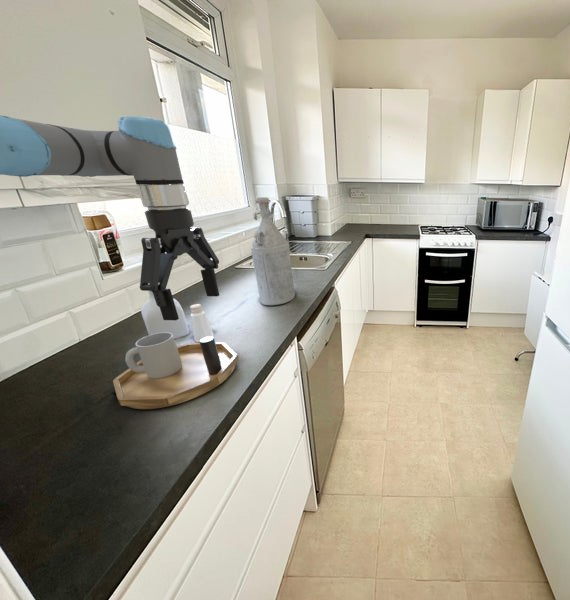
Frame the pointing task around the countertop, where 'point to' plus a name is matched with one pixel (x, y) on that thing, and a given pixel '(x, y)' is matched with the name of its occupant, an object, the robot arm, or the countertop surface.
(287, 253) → the grey jug bottle
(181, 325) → the soap bottle
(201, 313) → the salt shaker
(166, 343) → the cup
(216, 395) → the countertop surface
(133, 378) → the tray
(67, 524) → the countertop surface
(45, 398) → the countertop surface
